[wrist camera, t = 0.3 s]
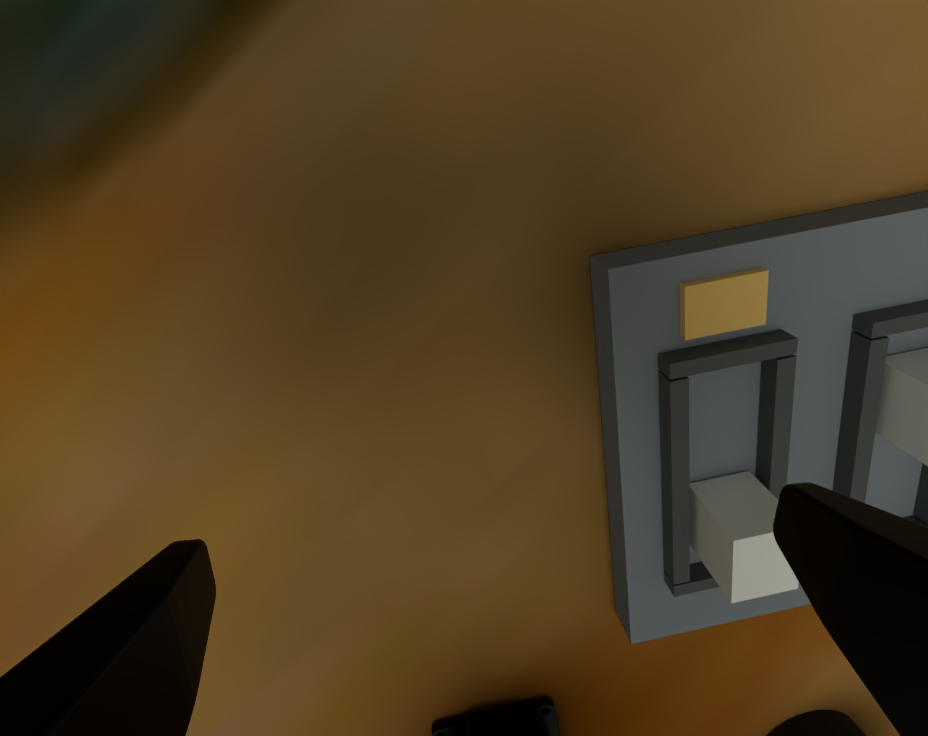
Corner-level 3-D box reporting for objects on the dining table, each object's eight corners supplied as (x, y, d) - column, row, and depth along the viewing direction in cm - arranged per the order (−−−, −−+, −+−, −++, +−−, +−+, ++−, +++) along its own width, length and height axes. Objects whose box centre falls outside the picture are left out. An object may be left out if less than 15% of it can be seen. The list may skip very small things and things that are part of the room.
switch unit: (1050, 514, 31) (1115, 554, 28) (615, 611, 29) (639, 662, 27) (1165, 145, 23) (1270, 150, 20) (589, 256, 22) (618, 277, 19)
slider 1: (746, 528, 26) (797, 588, 22) (687, 541, 25) (731, 603, 22) (748, 470, 24) (804, 525, 21) (687, 484, 24) (733, 540, 21)
